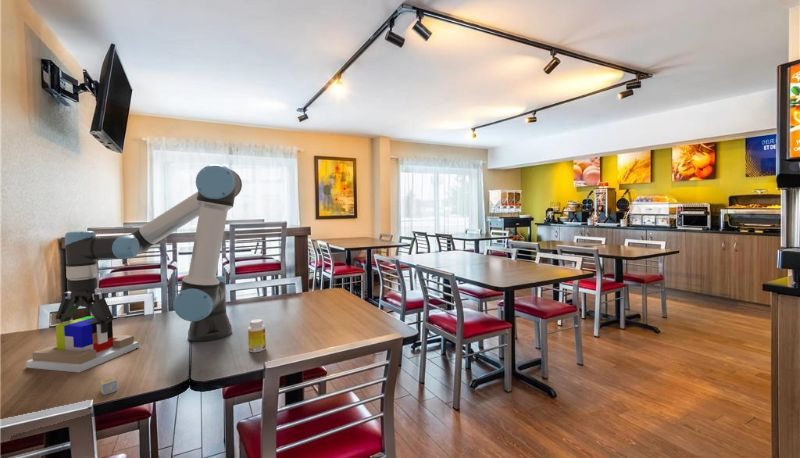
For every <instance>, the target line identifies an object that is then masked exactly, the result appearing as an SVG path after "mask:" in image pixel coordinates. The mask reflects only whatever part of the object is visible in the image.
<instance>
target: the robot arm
mask: <svg viewBox="0 0 800 458" xmlns="http://www.w3.org/2000/svg"><path fill="white" fill-rule="evenodd" d="M195 186H196V189H197V191H196V192H195V193H193V194H192V195H190V196H188V197H187V198H185V199H184V200H182V201H181V202H179V203H177V204H176V205H174V206H172V207H171V208H169V209H168V210H166V211H164V212H163V213H161V214H160V215H158V216H156V217H155V218H153V219H151V220H150V221H149V222H147V223H145V224H144V225H142V226H141V227H139V228H138V229H136V230H134V231H133V232H131V233H130V234H123V235H116V236H115V235H114V236H96V232H95V231H93V230H76V231H75V230H74V231H73V230H72V231H68V232H66V233H65V235H64V250H65V264H66V266H65V269H66V271H65V272H66V273H65V275H66V279H67V281H66V288H67V291H66V292H62V295H61V297H62V298H61V301H60V304H59V307H58V310H57V312H56V316H55V319H56V320H59V321H60V322H61V324H62V323H66V322H69V321H73V320H74V318H73V317H74V315H75V313H76V312H77V310H78V309H79V308H80V307H82V308H84V307H85V309H88V310H89V312H90V313H91V314H92V315H93V316H92V317H95V318H96V320H97V321H98V322H99V323H98V324H97V340H98V344H101V343H104V342H107V341H108V336H107V332H108V322H109V321H111V320H112V321H113V320H114V316H113V313H112V312H111V309H110V307H109V305H108V303H107V301H106V299H105V293H104V292H103V291H102V292H97V293H96V289H97V288H98V286H99V284H98V277H96V276H98V271H97V270H98V269H97V268H98V267H97V260H126V259H133V258H134V259H135V258H137V255H141V254H144V253H145V252H147V251H149V250H150V249H151V247H153V246H154V245H155V244H157V243H158V242H160V241H162V240H163V239H165V238H167V236H170V235H171V234H173V233H174V232H176V231H177V230H178V229H181V228H182V227H183V226H185V225H187V224H188V223H190V222H191V221H193V220H194V219H196V218H197V217H198V219H197V224H196V230H195V235H194V241H193V247H192V252H191V258H190V263H189V269H188V274H187V275H186V276H184V277H182V280H181V285H180V291H179V293H178V294H177V295H176V297H175V298H174V301H173V309H174V312H175V314H176V315H177V316H178V317H179V318H180V319H182V320H184V321H187V322H190V324H189V328H188V331H187V338H188V340H190V341H193V342H206V341H207V342H208V341H214V340H219V339H222V338H225V337H227V336H229V335H231V333H232V332H233V327H232V324H231V321H230V319H229V317H228V316H229V315H228V314H227V293H226V292H227V291H226V285H227V283H226V278H225V276H224V275H217V272H218V268H219V267H218V266H219V262H220V261H219V260H220V256H221V251H222V245H223V239H224V233H225V228H226V221H227V217H228V216H227V215H228V211H230V210H231V209H232V208H234V204H235V198H237V196H238V195H240V193H241V191H242V188H243V182H242V178H241V177H240V175H239V174H238V173H237V172H236V171H234V170H233V169H230V167H229V168H228V167H227V166H225V165H222V164H221V165H220V164H209V165H206V166H204V167H203V168H201V169H200V170H199V172H198V173H197V174H196V177H195ZM108 317H109V318H108ZM102 319H103V320H102Z"/></svg>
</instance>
